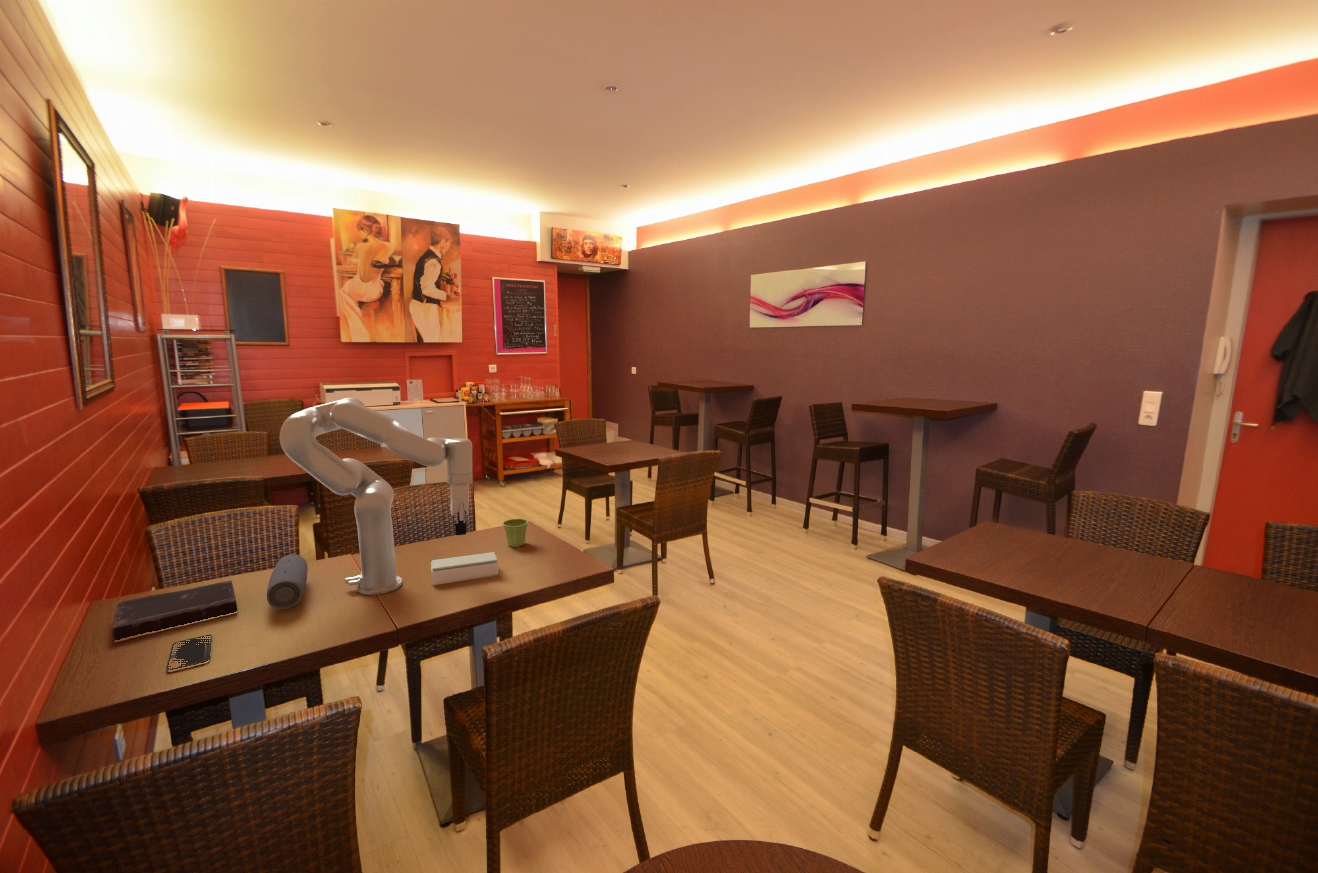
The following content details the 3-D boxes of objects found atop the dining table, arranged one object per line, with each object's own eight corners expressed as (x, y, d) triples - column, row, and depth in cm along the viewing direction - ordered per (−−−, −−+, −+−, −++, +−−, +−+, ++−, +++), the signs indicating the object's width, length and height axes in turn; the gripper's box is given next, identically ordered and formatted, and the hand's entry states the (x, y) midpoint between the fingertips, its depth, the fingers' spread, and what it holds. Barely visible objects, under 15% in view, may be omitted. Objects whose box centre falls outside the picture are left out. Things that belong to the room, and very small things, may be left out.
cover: (432, 570, 177) (432, 568, 176) (431, 562, 184) (431, 560, 184) (497, 561, 184) (497, 559, 184) (494, 553, 191) (494, 552, 191)
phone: (165, 671, 129) (172, 642, 141) (166, 675, 130) (173, 646, 142) (209, 660, 134) (212, 633, 146) (210, 664, 134) (213, 637, 146)
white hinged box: (432, 585, 177) (431, 571, 176) (431, 575, 184) (431, 562, 184) (498, 575, 185) (498, 562, 184) (495, 566, 192) (494, 553, 191)
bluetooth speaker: (306, 609, 161) (302, 576, 159) (266, 617, 156) (262, 582, 155) (311, 580, 181) (308, 550, 179) (276, 585, 176) (272, 555, 175)
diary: (238, 616, 158) (236, 600, 157) (114, 647, 142) (111, 628, 141) (233, 593, 172) (231, 577, 171) (120, 618, 156) (117, 601, 155)
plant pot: (502, 541, 216) (502, 519, 215) (528, 539, 219) (527, 517, 218) (503, 550, 208) (502, 527, 206) (530, 547, 210) (529, 525, 209)
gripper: (445, 473, 184) (446, 528, 187) (448, 484, 170) (449, 543, 173) (470, 472, 187) (471, 526, 189) (474, 482, 173) (475, 540, 176)
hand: (460, 534), depth 181 cm, fingers closed
